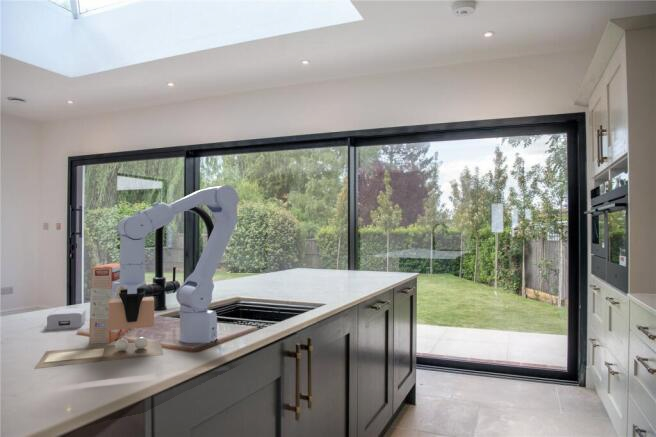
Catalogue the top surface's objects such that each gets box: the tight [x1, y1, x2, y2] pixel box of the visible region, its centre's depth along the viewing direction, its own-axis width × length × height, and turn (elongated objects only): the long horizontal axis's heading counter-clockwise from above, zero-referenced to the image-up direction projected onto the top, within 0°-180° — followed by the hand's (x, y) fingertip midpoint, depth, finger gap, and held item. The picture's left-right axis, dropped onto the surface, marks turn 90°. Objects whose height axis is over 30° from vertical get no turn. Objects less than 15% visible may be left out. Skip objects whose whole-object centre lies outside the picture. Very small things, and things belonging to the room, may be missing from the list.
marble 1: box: [114, 338, 129, 351], centre depth 107 cm, size 3×3×3 cm
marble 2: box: [134, 336, 148, 349], centre depth 109 cm, size 3×3×3 cm
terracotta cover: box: [109, 296, 155, 330], centre depth 108 cm, size 10×6×6 cm, turn 114°
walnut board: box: [33, 340, 164, 369], centre depth 105 cm, size 26×14×1 cm, turn 114°
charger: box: [46, 307, 86, 331], centre depth 141 cm, size 5×9×15 cm
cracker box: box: [88, 262, 129, 344], centre depth 121 cm, size 14×6×21 cm, turn 7°
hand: (132, 319), depth 108 cm, fingers closed on terracotta cover, 6 cm apart
